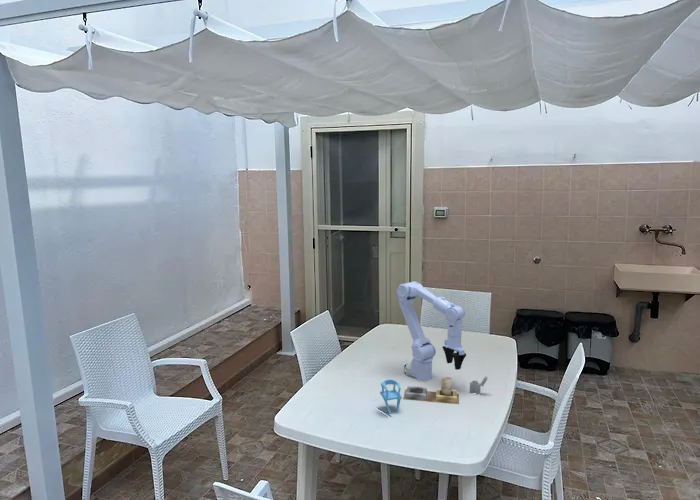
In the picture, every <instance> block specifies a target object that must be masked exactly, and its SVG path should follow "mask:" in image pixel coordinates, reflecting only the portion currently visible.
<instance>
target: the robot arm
mask: <svg viewBox="0 0 700 500" xmlns="http://www.w3.org/2000/svg"><path fill="white" fill-rule="evenodd" d="M395 292H396V294H397V298H398V305H399V308H400V310H401V312H402V315H403V318H404V319H405V320H404V321H405V323H406V326H407V328H408V330H409V332H410V337H411V338H412V345H411V351H412V357H413V358H412V360H411V362H410V376H412V377H414V378H415V379H416V380H418V381H423V382H424V381H426V382H427V381H430V380H432V378H433V360H434V357H435V356H436V353H437V351H436V348H435V346H434V345H433V343H432V341H431V340H430V339H429V338H427V337H426V336H425V334H424V331H423V327H422V325H421V323H420V320H419V318H418V316H417V313H416V310H415V308H414V306H413V303H414V302H415V299H416V298H417V297H420V298H421V299H423V300H425V301H427V302H428V303H431V304H432V305H433V308H434V309H435V310H436V311H438V312H439V313H440V314H443V316H445V318H446V320H447V321H446V322H447V339H444V342H443V344H444V345H443V346H442V351H443V352H444V355H445V360H446V363H447V364H452V363H453V361H454V370H461V368H462V365H463V362H464V359H465V358H466V357H467V353H466V352H465V349H464V348H463V345H462V335H463V334H462V332H463V331H462V330H463V328H462V327H463V326H462V325H463V319H464V317H465V315H466V314H465V313H466V312H465V311H466V310H465V309H464V308H463V307H462V306H461V305H459V304H457V305H456V304H455V303H454V302H450V301H449V300H447V299H446V297H445V296H438V297H437V296H436V295H435V294H434V293H432V292H431V291H429V290H428V289H426V288H425V287H424V286H423V285H422V284H421V283H419V282H418V281H416V280H414V281H411V282H405V283H400V284H399V286H398V287H397V290H396V291H395Z"/></svg>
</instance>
